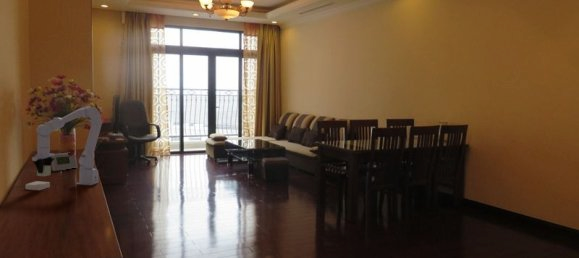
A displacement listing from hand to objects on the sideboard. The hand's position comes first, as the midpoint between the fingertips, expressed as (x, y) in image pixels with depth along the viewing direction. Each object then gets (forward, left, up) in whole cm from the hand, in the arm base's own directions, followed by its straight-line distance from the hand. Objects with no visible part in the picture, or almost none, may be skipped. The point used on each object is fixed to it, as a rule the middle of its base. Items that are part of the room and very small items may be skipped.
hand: (43, 172), depth 228 cm
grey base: (+2, +1, -9) cm, 9 cm away
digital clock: (+20, -45, -9) cm, 51 cm away
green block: (0, 0, -2) cm, 2 cm away
